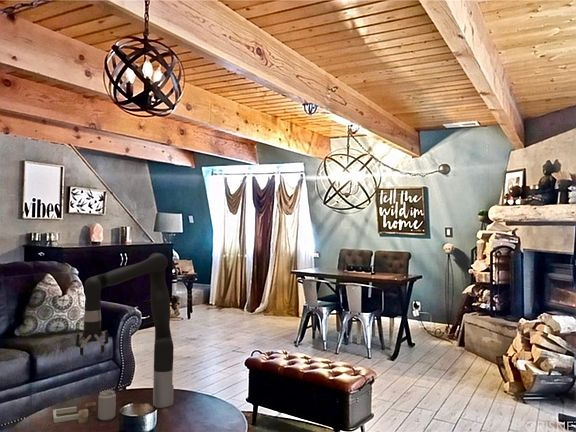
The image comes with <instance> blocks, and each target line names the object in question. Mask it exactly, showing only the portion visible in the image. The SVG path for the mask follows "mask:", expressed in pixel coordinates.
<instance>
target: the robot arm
mask: <svg viewBox="0 0 576 432" xmlns="http://www.w3.org/2000/svg"><path fill="white" fill-rule="evenodd" d="M168 260H169V259H168V257H167V256H166V255H164V254H163V253H160V252H154V253H152V254H150V255H149V256H148V257H147V259H144V260H143V261H140V262H137V263H134V264H130V265H125V266H122V267H119V268H115V269H113V270H109V271H108V272H104V273H101V274H98V275H94V276H93V275H92V276H91V277H89V278H86V280H85V282H84V290H85V291H84V292H85V293H84V294H85V295H84V296H85V300H84V312H83V332H82V333H81V332H80V333H79V332H77V333H76V334H75V336H76V337H75V347H77V348H79V355H80V356H81V357H83V356H84V346H85V345H86V344H87V343H91V342H97V341H98V342H99V344H100V354H103V353H104V352H105V345H107V344H109V332H108V330H104V331H102V313H101V294H102V289H104V288H106V287H112V286H116V285H119V284H121V283H124V282H127V281H129V280H131V279H135V278H137V277H141V276H143V275H147V274H149V279H150V291H149V292H150V308H151V315H152V320H153V324H154V345H153V347H154V348H153V383H152V384H153V385H152V386H153V388H152V389H153V391H152V406H153V407H154V406H155V408H159V409H161V408H162V409H163V408H168V407H171V406H173V405H174V384H173V383H174V382H173V380H174V379H173V375H174V374H173V373H174V342H173V337H172V333H171V326H170V321H171V301H170V294H169V289H168V286H167V282H166V268H167V267H168V265H169V261H168ZM102 335H103V337H104V341H103V340H102V339H101V336H102ZM82 337H83V338H84V339H83V340H82V341H81V343H80V339H81V338H82Z"/></svg>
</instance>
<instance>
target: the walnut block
mask: <svg viewBox="0 0 576 432" xmlns="http://www.w3.org/2000/svg"><path fill="white" fill-rule="evenodd" d="M84 409H88V417H89V416H95V415H97V403H96V401H91V402H85V403H84Z"/></svg>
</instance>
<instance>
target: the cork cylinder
mask: <svg viewBox="0 0 576 432" xmlns="http://www.w3.org/2000/svg"><path fill="white" fill-rule="evenodd" d="M78 414H79V417H78V419H77V420H78V421H77V422H78V424H80V425H81V424H82V425H83V424H87V423H88V422H89V416H88V409H85V408H83V409H79V410H78Z"/></svg>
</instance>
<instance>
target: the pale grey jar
mask: <svg viewBox="0 0 576 432" xmlns="http://www.w3.org/2000/svg"><path fill="white" fill-rule="evenodd" d="M116 402H117V394H116V393H115V390H113V389H107V390H102V391H100V393H99V395H98V404H97V405H98V406H97V408H98V409H97V418H98V419H99V420H100V421H103V422H105V421H111V420H113V419H114V418H115V417H116V404H117V403H116Z"/></svg>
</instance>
